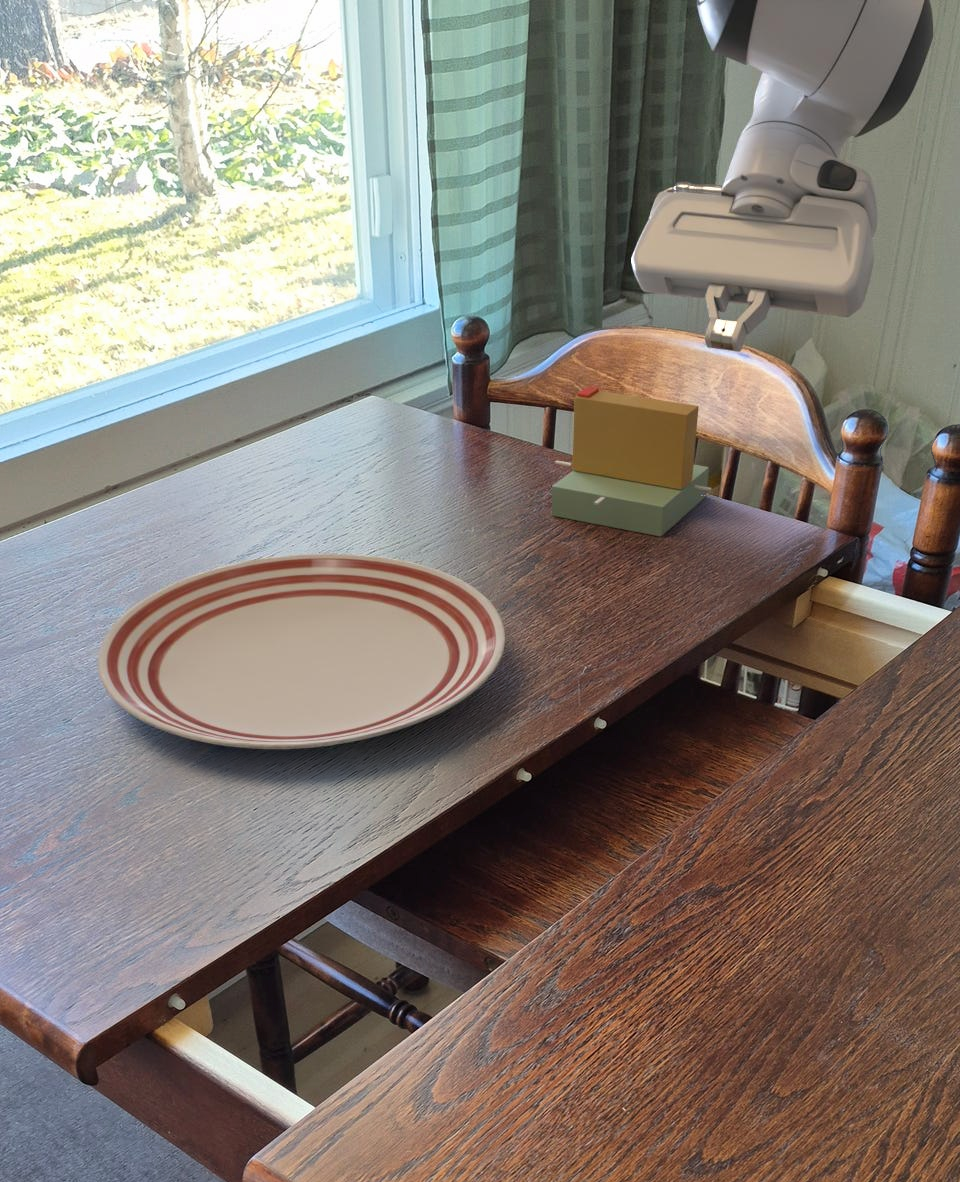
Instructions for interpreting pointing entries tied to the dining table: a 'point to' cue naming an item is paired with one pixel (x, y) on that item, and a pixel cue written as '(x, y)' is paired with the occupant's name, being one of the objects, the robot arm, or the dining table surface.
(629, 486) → the green base slab
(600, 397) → the tan box
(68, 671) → the dining table surface
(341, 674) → the dinner plate
